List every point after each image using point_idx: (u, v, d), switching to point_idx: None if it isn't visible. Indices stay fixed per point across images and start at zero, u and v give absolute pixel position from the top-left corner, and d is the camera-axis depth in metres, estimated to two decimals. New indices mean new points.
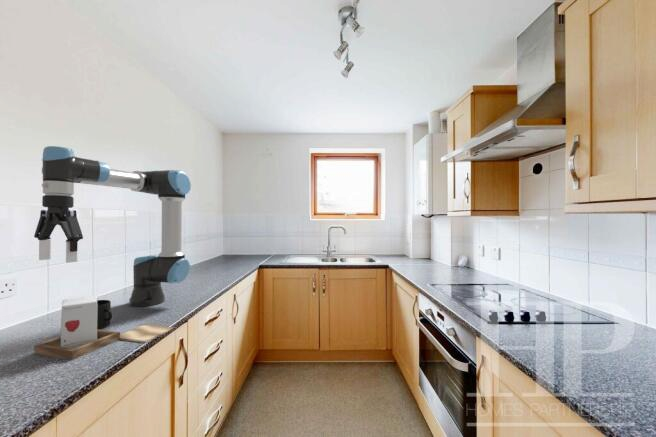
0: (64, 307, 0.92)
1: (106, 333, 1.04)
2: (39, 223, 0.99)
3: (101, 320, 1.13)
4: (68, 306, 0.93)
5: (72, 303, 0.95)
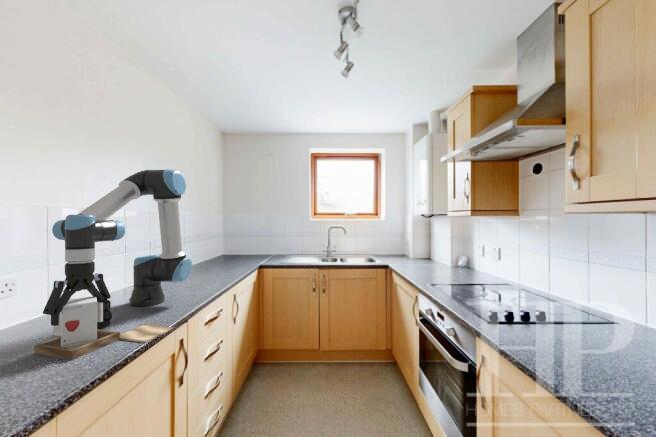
0: (64, 307, 0.92)
1: (106, 333, 1.04)
2: None
3: None
4: (68, 306, 0.93)
5: (72, 303, 0.95)
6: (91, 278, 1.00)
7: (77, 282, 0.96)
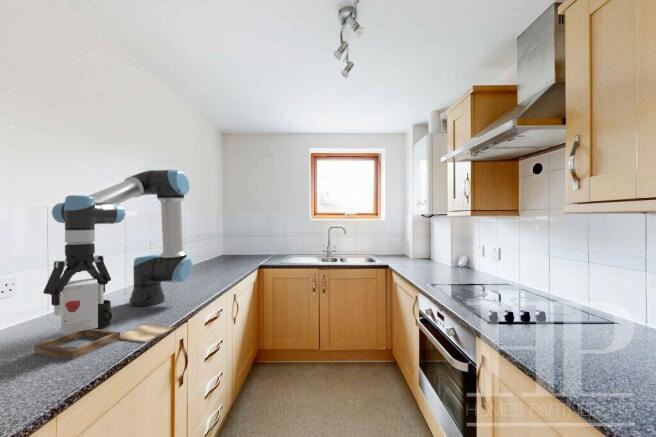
0: (64, 287, 0.92)
1: (106, 333, 1.04)
2: None
3: (101, 320, 1.13)
4: (68, 286, 0.93)
5: (72, 284, 0.95)
6: (91, 260, 1.01)
7: (77, 263, 0.96)
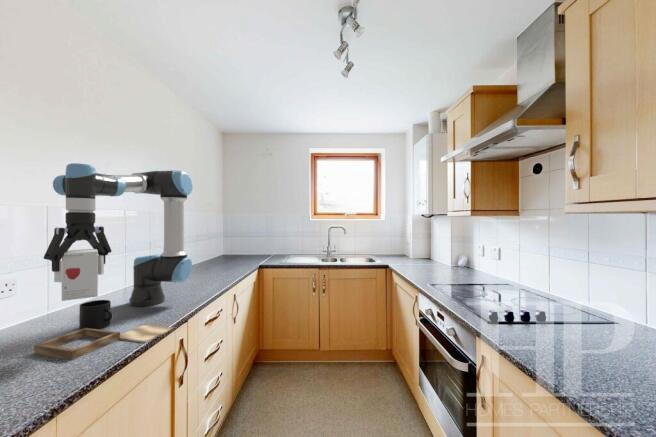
0: (65, 254, 0.92)
1: (106, 333, 1.04)
2: None
3: (101, 320, 1.13)
4: (69, 253, 0.93)
5: (73, 251, 0.95)
6: (92, 229, 1.01)
7: (78, 231, 0.96)
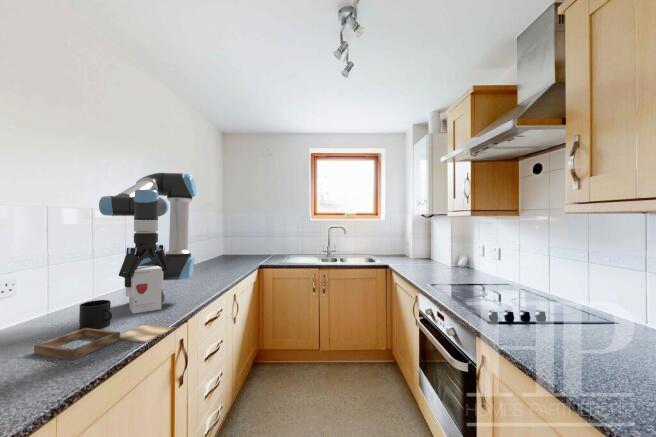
0: (135, 271, 1.03)
1: (106, 333, 1.04)
2: None
3: (101, 320, 1.13)
4: (138, 270, 1.03)
5: (141, 268, 1.05)
6: (154, 248, 1.11)
7: (145, 250, 1.06)
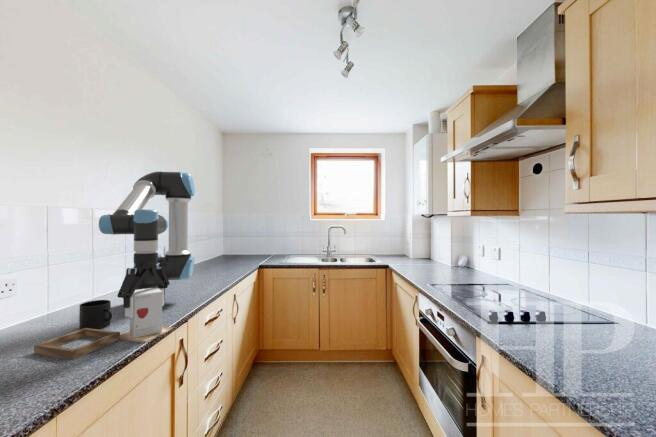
0: (136, 296, 1.03)
1: (106, 333, 1.04)
2: None
3: (101, 320, 1.13)
4: (139, 295, 1.04)
5: (141, 293, 1.06)
6: (154, 267, 1.11)
7: (145, 270, 1.06)
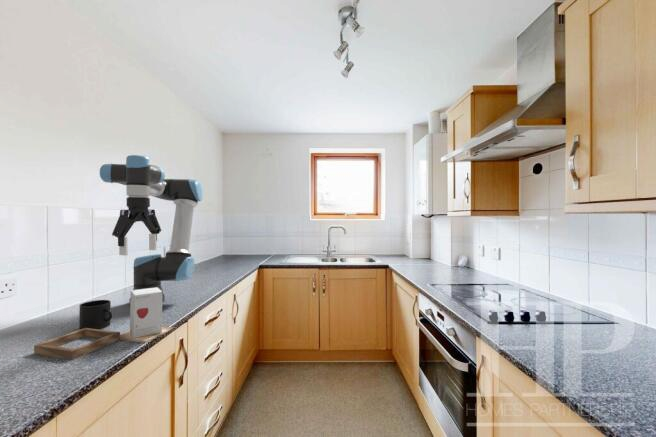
0: (136, 296, 1.03)
1: (106, 333, 1.04)
2: None
3: (101, 320, 1.13)
4: (139, 295, 1.04)
5: (141, 293, 1.06)
6: (147, 212, 1.17)
7: (137, 213, 1.12)
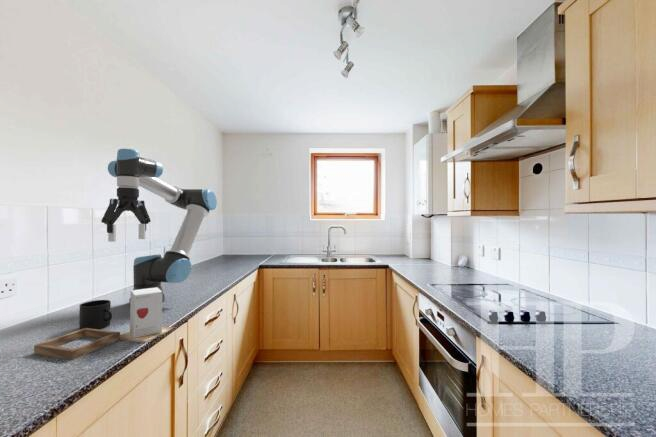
0: (136, 296, 1.03)
1: (106, 333, 1.04)
2: None
3: (101, 320, 1.13)
4: (139, 295, 1.04)
5: (141, 293, 1.06)
6: (136, 202, 1.24)
7: (126, 203, 1.19)
